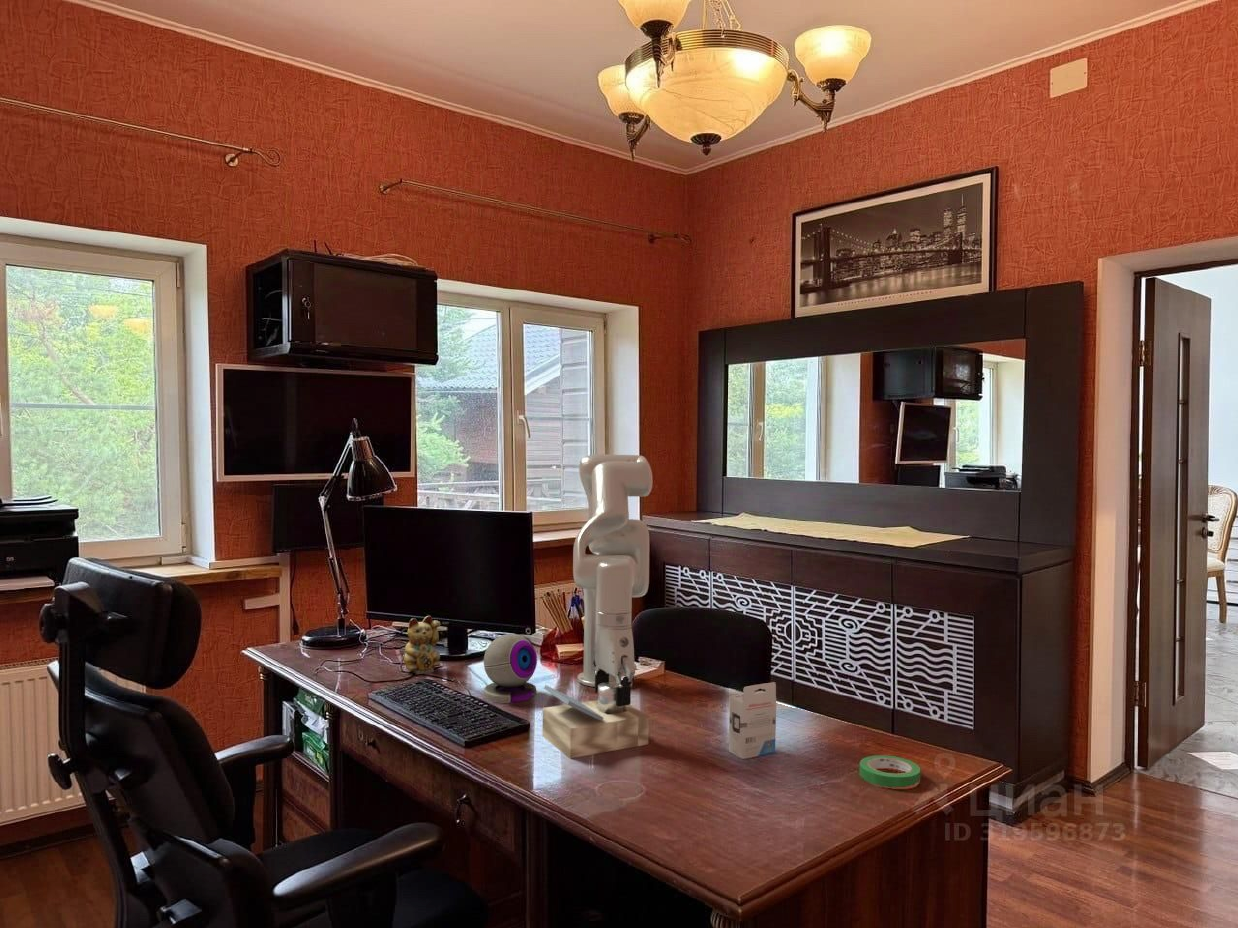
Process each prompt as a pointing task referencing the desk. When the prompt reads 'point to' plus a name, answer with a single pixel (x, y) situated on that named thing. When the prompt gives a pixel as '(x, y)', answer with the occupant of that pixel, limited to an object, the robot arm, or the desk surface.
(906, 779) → the tape roll
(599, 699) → the light bulb
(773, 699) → the ink box
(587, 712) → the plate
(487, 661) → the webcam
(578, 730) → the block
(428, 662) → the decorative figurine
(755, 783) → the desk surface
